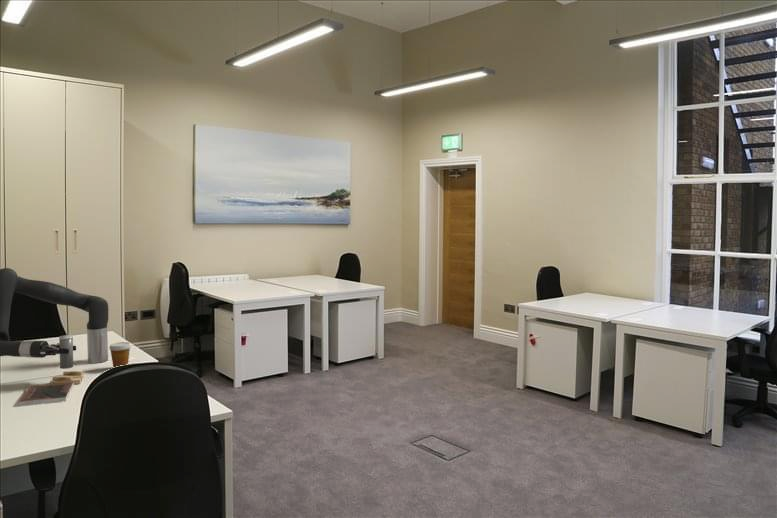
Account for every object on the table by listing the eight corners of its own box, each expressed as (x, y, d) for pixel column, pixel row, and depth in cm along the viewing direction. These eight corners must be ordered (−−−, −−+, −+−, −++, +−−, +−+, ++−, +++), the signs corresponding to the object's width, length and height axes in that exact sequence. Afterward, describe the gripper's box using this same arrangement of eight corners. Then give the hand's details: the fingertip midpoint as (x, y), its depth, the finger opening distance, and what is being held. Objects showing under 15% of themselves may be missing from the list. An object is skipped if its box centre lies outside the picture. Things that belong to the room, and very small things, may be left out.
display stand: (56, 379, 252) (56, 371, 252) (83, 377, 256) (83, 369, 256) (51, 387, 241) (50, 379, 241) (79, 384, 245) (79, 376, 245)
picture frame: (65, 402, 224) (73, 386, 243) (65, 396, 223) (73, 381, 243) (17, 407, 217) (29, 391, 237) (17, 401, 217) (29, 385, 237)
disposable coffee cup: (107, 371, 266) (107, 346, 265) (112, 366, 275) (111, 342, 274) (129, 370, 268) (128, 345, 267) (132, 365, 277) (132, 341, 276)
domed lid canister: (60, 366, 249) (60, 335, 248) (74, 365, 251) (74, 334, 250) (58, 369, 244) (57, 337, 243) (72, 368, 246) (71, 337, 245)
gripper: (23, 344, 240) (63, 345, 240) (43, 337, 254) (80, 337, 254) (23, 361, 240) (63, 362, 240) (43, 353, 254) (81, 354, 255)
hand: (72, 349), depth 247 cm, fingers closed on domed lid canister, 5 cm apart
